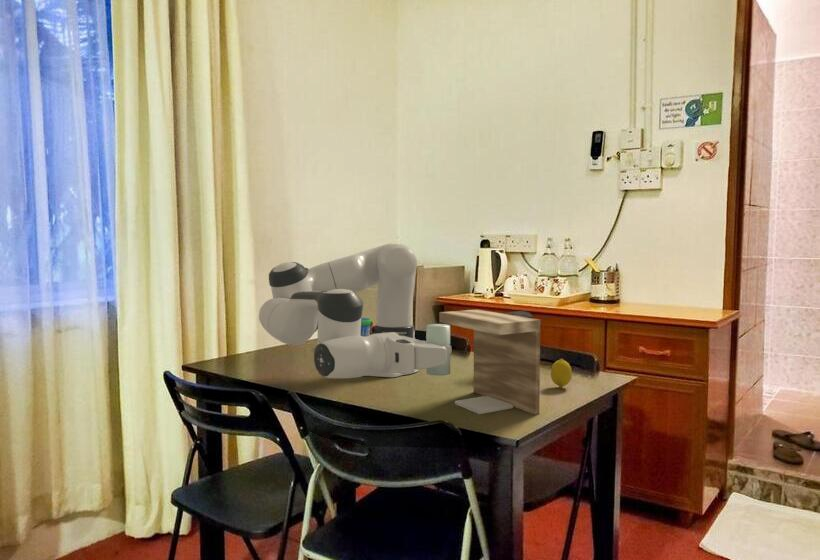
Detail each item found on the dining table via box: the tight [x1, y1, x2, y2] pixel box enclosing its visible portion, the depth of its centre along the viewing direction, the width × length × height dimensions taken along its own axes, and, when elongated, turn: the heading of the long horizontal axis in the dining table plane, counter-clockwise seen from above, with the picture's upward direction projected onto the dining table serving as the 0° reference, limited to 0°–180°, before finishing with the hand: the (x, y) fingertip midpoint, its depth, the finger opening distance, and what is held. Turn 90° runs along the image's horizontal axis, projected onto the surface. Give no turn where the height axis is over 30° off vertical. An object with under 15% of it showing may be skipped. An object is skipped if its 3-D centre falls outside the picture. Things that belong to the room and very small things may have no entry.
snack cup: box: [361, 317, 374, 337], centre depth 230 cm, size 16×10×10 cm
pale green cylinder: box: [425, 323, 451, 377], centre depth 140 cm, size 6×6×11 cm
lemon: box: [550, 358, 573, 389], centre depth 165 cm, size 6×6×8 cm
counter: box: [438, 308, 541, 416], centre depth 148 cm, size 12×24×22 cm, turn 30°
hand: (441, 346), depth 141 cm, fingers closed on pale green cylinder, 5 cm apart
